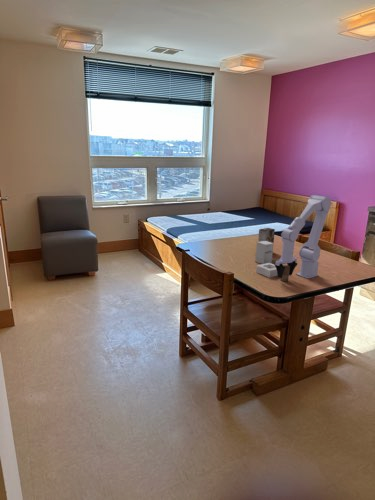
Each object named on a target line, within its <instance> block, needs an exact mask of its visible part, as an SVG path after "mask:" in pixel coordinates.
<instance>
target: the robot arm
mask: <svg viewBox="0 0 375 500" xmlns="http://www.w3.org/2000/svg"><path fill="white" fill-rule="evenodd" d="M331 205H332V200H331V198H330V197H329V196H322V195H317V194H312V195H310V197H309V198H308V199H307V204H306V206H305V208H304V209H303V210H302V213H301V214H300V215H299V216H297V217H295V218H294V219H293V221H292V222H291V223H290V224H289V226H288V227H286V228H284V229H283V230H282V232H281V233H280V237H281V238H282V239H281V241H282V248H281V249H282V250H281V256H280V258H279V259H277V260H278V261H276V263H275V267H276V269H277V274H278V276H277V277H278V278H279V279H281V278H282V276H283V271H284V269H285V266H283V265H288V266H290V270H289V277H292V275H293V273H294V270H295V269H296V267H297V266H298V257H294V250H295V243H296V242H295V241H296V240H297V239H298V238H299V235H300V231H302V229H303V228H304V226H305V225H306V220H307V219H308V218H309V217H310V216H312V214H313V213H314V212H315V218H314V221H313V224H312V227H311V230H310V233H309V236H308V239H307V241H306V242H304V243H303V244H302V246H301V247H300V249H299V252H298V255H299V257H300V259H301V261H300V269H299V272H297V273H296V275H298V276H300V277H303V278H305V279H311V278H315V277H316V278H317V277H318V276H320V275H319V274H318V273H319V272H318V271H319V267H320V266H319V265H320V264H319V261H318V260H319V259H320V257H321V255H320V254H321V247H320V246H319V241H320V238H321V236H322V232H323V228H324V226H325V222H326V220H327V216H328V214H329V211H330V209H331Z"/></svg>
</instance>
